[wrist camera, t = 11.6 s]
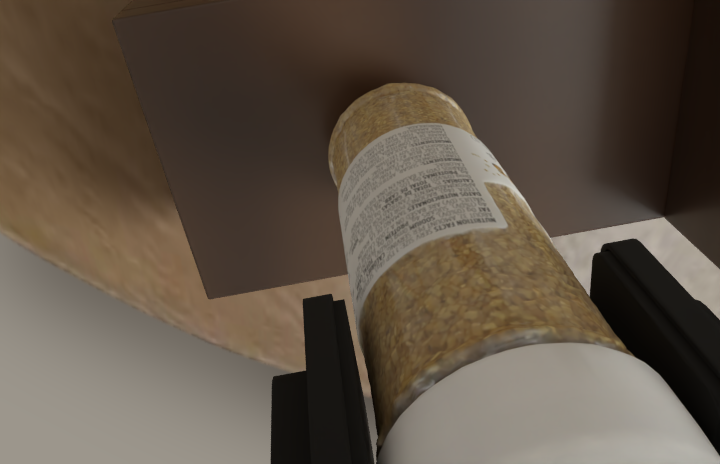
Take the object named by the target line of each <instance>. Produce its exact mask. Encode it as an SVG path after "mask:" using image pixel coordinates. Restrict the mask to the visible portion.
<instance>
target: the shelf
mask: <svg viewBox="0 0 720 464" xmlns="http://www.w3.org/2000/svg"><path fill="white" fill-rule="evenodd" d="M112 23H113V26H114V29H115V32H116V35H117V38H118V40H119V43H120V46H121V49H122V52H123V55H124V58H125V61H126V63H127V66H128V69H129V72H130V75H131V78H132V81H133V84H134V87H135V89H136V92H137V95H138V98H139V101H140V104H141V107H142V110H143V113H144V115H145V118H146V121H147V124H148V127H149V130H150V133H151V136H152V138H153V141H154V144H155V147H156V150H157V153H158V156H159V159H160V162H161V164H162V167H163V170H164V173H165V176H166V179H167V182H168V185H169V188H170V190H171V193H172V196H173V199H174V202H175V205H176V208H177V211H178V213H179V216H180V219H181V222H182V225H183V228H184V231H185V234H186V237H187V239H188V242H189V245H190V248H191V251H192V254H193V257H194V260H195V263H196V265H197V268H198V271H199V274H200V277H201V280H202V283H203V286H204V289H205V291H206V294H207V297H208V299H214V298H220V297H225V296H231V295H236V294H242V293H248V292H253V291H259V290H264V289H270V288H275V287H281V286H286V285H292V284H297V283H303V282H308V281H314V280H319V279H325V278H330V277H336V276H341V275H347V274H348V271H347V265H346V258H345V251H344V244H343V238H342V231H341V224H340V218H339V211H338V197H339V194H338V189H337V187H336V185H335V183H334V180H333V178H332V175H331V172H330V168H329V160H328V151H329V144H330V139H331V135H332V133H333V130H334V128H335V126H336V124H337V122H338V120H339V117H340V115H341V114H342V113H344V112H345V111H346V109H347V108H348V107H349V106H350V105H351V104H352V103H353V102H354V101H355V100H357V99H358V98H360V97H361V96H363V95H364V94H366V93H368V92H370V91H372V90H375V89H377V88H379V87H381V86H384V85H386V84H389V83H416V84H421V85H424V86H429V87H433V88H435V89H437V90H439V91H441V92H442V93H444V94H446V95H447V96H449V97H451V98H452V99H453V100H454V101H455V102H456V103H457V104H458V106H459V107H460V108H461V109H462V111H463V112H464V114H465V115H466V117H467V119H468V121H469V123H470V125H471V128H472V131H473V132H474V134H475V136H476V137H477V139H478V140H480V141H481V142H482V143H483V144H484V145H485V146H486V147H487V148H488V149H489V151H490V152H491V153H492V154H493V156H494V157H495V159H496V160H497V161H498V163H499V164H500V165H501V167H502V168H503V170H504V171H505V172H506V174H507V175H508V177H509V178H510V180H511V181H512V183H513V184H514V185H515V187H516V188H517V189H518V191H519V192H520V193H521V195H522V196H523V197H524V199H525V200H526V202H527V204H528V205H529V207H530V209H531V211H532V213H533V214H534V216H535V218H536V219H537V220H538V222H539V223H540V224H541V226H542V227H543V228H544V229H545V231H546V232H547V234H548V235H549V237H550V238H551V237H557V236H562V235H568V234H573V233H579V232H584V231H590V230H595V229H601V228H606V227H612V226H617V225H623V224H629V223H634V222H640V221H645V220H651V219H656V218H662V217H665V219H666V220H667V221H668V222H670V223H671V224H672V225H673V226H674V227H675V228H676V229H677V230H678V231H679V232H680V233H681V234H682V235H684V236H685V237H686V238H687V239H688V240H689V241H690V242H691V243H692V244H693V245H694V246H695V247H696V248H698V249H699V250H700V251H701V252H702V253H703V254H704V255H705V256H706V257H707V258H708V259H709V260H710V261H712V262H713V263H714V264H715V265H716V266H717V267H718V268H719V269H720V0H133V1H132V2H131V3H130V4H129V5H128V6H126V7H125V8H124V9H123V10H122V11H121V12H120V13H119V14H118V15H117V16H116V17H115V18H114V19H113V20H112Z"/></svg>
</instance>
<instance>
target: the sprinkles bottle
mask: <svg viewBox="0 0 720 464" xmlns="http://www.w3.org/2000/svg"><path fill="white" fill-rule="evenodd" d="M328 160H329V168H330V172H331V175H332V178H333V180H334V183H335V185H336V187H337V189H338V194H339V197H338V211H339V218H340V224H341V231H342V238H343V244H344V251H345V258H346V265H347V271H348V277H349V284H350V291H351V296H352V302H353V309H354V315H355V322H356V329H357V335H358V341H359V345H360V348H361V350H362V353H363V355H364V358H365V364H366V368H367V371H368V379H369V382H370V386H371V395H372V400H373V406H374V412H375V420H376V429H377V435H378V439H377V443H376V445H377V452H376V460H377V462H376V464H720V456H719V454H718V453H717V451H716V450H715V448H714V447H713V445H712V444H711V443H710V441H709V440H708V438H707V437H706V435H705V434H704V432H703V431H702V429H701V428H700V427H699V425H698V424H697V423H696V421H695V420H694V419H693V417H692V416H691V415H690V413H689V412H688V411H687V409H686V408H685V407H684V405H683V404H682V403H681V401H680V400H679V399H678V397H677V396H676V395H675V393H674V392H673V391H672V389H671V388H670V387H669V385H668V384H667V383H666V382H665V381H664V379H663V378H662V377H661V376H660V375H659V374H658V373H657V372H656V371H655V370H653V369H652V368H651V367H650V366H649V365H647V364H646V363H645V362H643V361H641V360H639V359H637V358H636V357H635V356H634V355H633V354H632V353H631V352H630V351H628V350H627V349H626V347H625V345H624V344H623V342H622V341H621V340H620V339H619V338H618V337H617V336H616V335H615V334H614V332H613V330H612V329H611V327H610V326H609V324H608V323H607V322H606V320H605V319H604V317H603V316H602V314H601V313H600V311H599V310H598V308H597V306H596V305H595V304H594V303H593V302H592V301H591V299H590V297H589V296H588V294H587V293H586V291H585V289H584V288H583V287H582V285H581V284H580V283H579V281H578V280H577V279H576V277H575V276H574V274H573V272H572V271H571V269H570V268H569V267H568V265H567V263H566V262H565V260H564V259H563V258H562V256H561V255H560V254H559V252H558V251H557V249H556V248H555V246H554V244H553V242H552V241H551V239H550V237H549V235H548V234H547V232H546V231H545V229H544V228H543V227H542V226H541V224H540V223H539V222H538V220H537V219H536V218H535V216H534V214H533V213H532V211H531V209H530V207H529V205H528V204H527V202H526V200H525V199H524V197H523V196H522V195H521V193H520V192H519V191H518V189H517V188H516V187H515V185H514V184H513V183H512V181H511V180H510V178H509V177H508V175H507V174H506V172H505V171H504V170H503V168H502V167H501V165H500V164H499V163H498V161H497V160H496V159H495V157H494V156H493V154H492V153H491V152H490V151H489V149H488V148H487V147H486V146H485V145H484V144H483V143H482V142H481V141H480V140H478V139H477V137H476V136H475V134H474V132H473V131H472V128H471V125H470V123H469V121H468V119H467V117H466V115H465V114H464V112H463V111H462V109H461V108H460V107H459V106H458V104H457V103H456V102H455V101H454V100H453V99H452V98H451V97H449V96H447V95H446V94H444V93H442V92H441V91H439V90H437V89H435V88H433V87H429V86H424V85H421V84H416V83H389V84H386V85H384V86H381V87H379V88H377V89H375V90H372V91H370V92H368V93H366V94H364V95H363V96H361V97H360V98H358V99H357V100H355V101H354V102H353V103H352V104H351V105H350V106H349V107H348V108H347V109H346V111H345V112H344V113H342V114H341V115H340V117H339V120H338V122H337V124H336V126H335V128H334V130H333V133H332V135H331V139H330V144H329V151H328Z"/></svg>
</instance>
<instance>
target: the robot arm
mask: <svg viewBox="0 0 720 464" xmlns="http://www.w3.org/2000/svg"><path fill="white" fill-rule="evenodd" d="M590 299H591V301H592V302H593V303H594V304H595V305H596V306H597V308H598V310H599V311H600V313H601V314H602V316H603V317H604V319H605V320H606V322H607V323H608V324H609V326H610V327H611V329H612V330H613V332H614V334H615V335H616V336H617V337H618V338H619V339H620V340H621V341H622V342H623V344H624V345H625V347H626V349H627V350H628V351H630V352H631V353H632V354H633V355H634V356H635V357H636V358H637V359H639V360H641V361H643V362H645V363H646V364H647V365H649V366H650V367H651V368H652V369H653V370H655V371H656V372H657V373H658V374H659V375H660V376H661V377H662V378H663V379H664V381H665V382H666V383H667V384H668V385H669V387H670V388H671V389H672V391H673V392H674V393H675V395H676V396H677V397H678V399H679V400H680V401H681V403H682V404H683V405H684V407H685V408H686V409H687V411H688V412H689V413H690V415H691V416H692V417H693V419H694V420H695V421H696V423H697V424H698V425H699V427H700V428H701V429H702V431H703V432H704V434H705V435H706V437H707V438H708V440H709V441H710V443H711V444H712V445H713V447H714V448H715V450H716V451H717V453H718V454H719V456H720V320H719V319H718V318H717V317H716V316H715V315H714V314H713V312H712V311H711V310H710V309H709V308H708V307H707V306H706V305H704V304H703V303H702V302H701V301H698V300H695V299H694V298H693V297H692V296H691V295H690V294H689V293H688V292H687V291H686V290H685V289H684V288H683V287H682V286H681V285H680V284H679V282H678V281H677V280H676V279H675V278H674V277H673V276H672V275H671V274H670V273H669V272H668V271H667V270H666V269H665V268H664V267H663V266H662V264H661V263H660V262H659V261H658V260H657V259H656V258H655V257H654V256H653V255H652V254H651V253H650V252H649V251H648V250H647V249H646V248H645V247H644V245H643V244H642V243H641V242H640V241H638V240H637V239H628V240H623V241H617V242H612V243H606V244H604V245H603V246H602V248H601V252H600V253H596V254H594V256H593V260H592V274H591V288H590ZM303 316H304V335H305V355H306V371H301V372H296V373H291V374H285V375H280V376H274V377H273V380H272V414H271V419H272V420H271V464H374V458H373V451H372V446H371V439H370V432H369V426H368V419H367V413H366V407H365V402H364V397H363V392H362V387H361V382H360V376H359V371H358V366H357V361H356V356H355V351H354V346H353V341H352V336H351V331H350V326H349V321H348V316H347V311H346V306H345V301H344V299H343V300H338V301H333V297H332V294H328V295H322V296H317V297H311V298H306V299H303Z"/></svg>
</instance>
